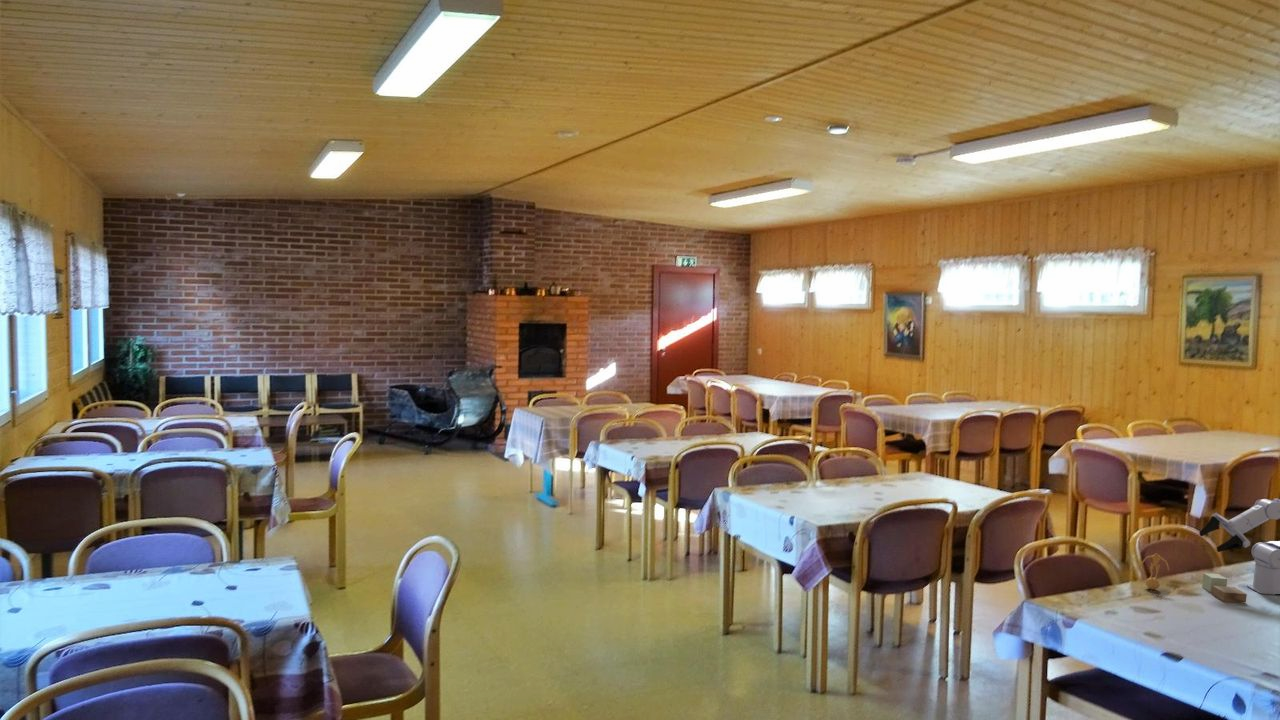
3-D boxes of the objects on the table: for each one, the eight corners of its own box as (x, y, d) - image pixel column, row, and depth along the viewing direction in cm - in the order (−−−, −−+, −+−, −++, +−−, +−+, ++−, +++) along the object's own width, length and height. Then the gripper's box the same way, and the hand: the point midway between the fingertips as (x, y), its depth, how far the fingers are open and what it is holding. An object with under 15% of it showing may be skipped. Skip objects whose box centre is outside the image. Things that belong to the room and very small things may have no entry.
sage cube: (1217, 588, 311) (1218, 574, 311) (1225, 593, 306) (1227, 578, 306) (1202, 587, 312) (1203, 573, 311) (1210, 592, 307) (1211, 577, 306)
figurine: (1137, 587, 308) (1140, 552, 306) (1140, 583, 312) (1143, 549, 311) (1165, 593, 302) (1168, 558, 301) (1168, 589, 307) (1171, 554, 306)
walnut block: (1233, 595, 304) (1234, 587, 304) (1245, 603, 297) (1246, 594, 297) (1211, 594, 304) (1212, 585, 304) (1223, 601, 297) (1224, 592, 297)
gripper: (1227, 500, 312) (1191, 520, 313) (1262, 530, 301) (1225, 550, 301) (1228, 512, 317) (1193, 532, 317) (1262, 542, 305) (1225, 562, 306)
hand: (1208, 541), depth 310 cm, fingers open, 7 cm apart
